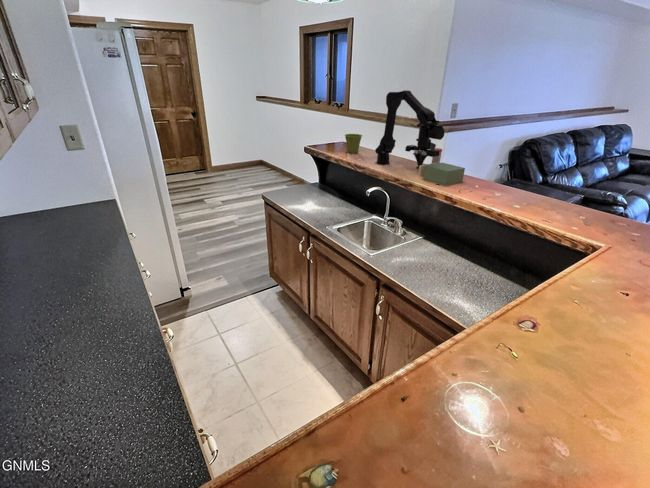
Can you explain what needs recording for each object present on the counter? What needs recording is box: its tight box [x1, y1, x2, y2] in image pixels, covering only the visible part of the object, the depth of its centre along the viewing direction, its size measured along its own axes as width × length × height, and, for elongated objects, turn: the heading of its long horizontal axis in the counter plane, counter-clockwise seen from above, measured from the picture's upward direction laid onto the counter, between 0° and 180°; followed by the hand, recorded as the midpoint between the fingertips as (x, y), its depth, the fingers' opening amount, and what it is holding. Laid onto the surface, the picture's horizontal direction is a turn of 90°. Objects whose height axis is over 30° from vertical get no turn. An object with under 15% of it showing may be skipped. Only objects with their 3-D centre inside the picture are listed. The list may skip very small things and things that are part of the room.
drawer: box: [415, 162, 437, 177], centre depth 181 cm, size 17×12×5 cm
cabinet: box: [423, 162, 466, 187], centre depth 176 cm, size 14×14×7 cm
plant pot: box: [344, 133, 363, 154], centre depth 234 cm, size 12×12×11 cm
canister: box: [431, 147, 443, 163], centre depth 193 cm, size 5×5×12 cm
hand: (419, 166), depth 187 cm, fingers closed
